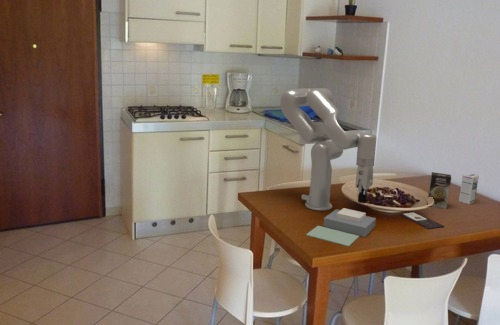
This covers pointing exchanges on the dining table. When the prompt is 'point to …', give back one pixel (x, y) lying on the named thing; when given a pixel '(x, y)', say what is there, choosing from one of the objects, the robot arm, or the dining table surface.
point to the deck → (349, 224)
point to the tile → (351, 215)
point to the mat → (332, 235)
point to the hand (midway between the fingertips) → (362, 202)
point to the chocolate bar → (422, 220)
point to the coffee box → (439, 189)
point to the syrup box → (468, 188)
